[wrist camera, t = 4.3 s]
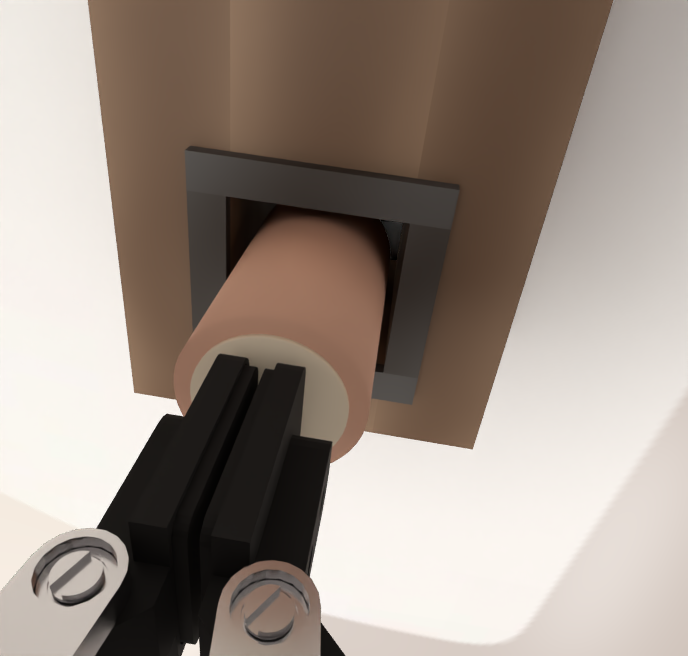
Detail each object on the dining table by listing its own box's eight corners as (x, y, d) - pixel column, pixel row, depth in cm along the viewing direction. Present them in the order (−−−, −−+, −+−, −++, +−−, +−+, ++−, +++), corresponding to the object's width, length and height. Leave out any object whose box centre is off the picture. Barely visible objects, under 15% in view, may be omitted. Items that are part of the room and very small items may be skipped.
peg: (400, 199, 16) (382, 338, 10) (380, 318, 19) (355, 491, 13) (261, 178, 17) (164, 303, 11) (257, 299, 19) (176, 459, 13)
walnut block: (689, -541, 12) (954, -1053, 6) (462, 330, 24) (473, 458, 18) (179, -583, 13) (-61, -1092, 7) (204, 289, 25) (129, 400, 19)
